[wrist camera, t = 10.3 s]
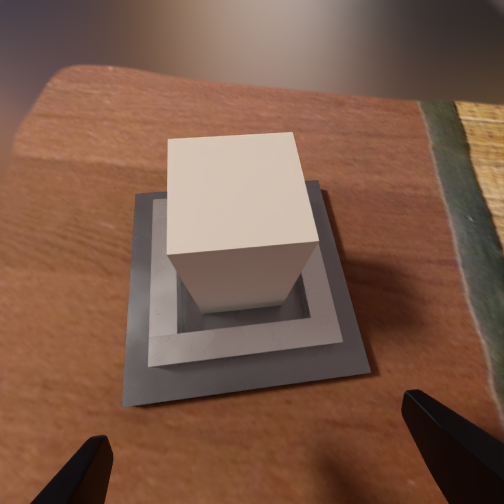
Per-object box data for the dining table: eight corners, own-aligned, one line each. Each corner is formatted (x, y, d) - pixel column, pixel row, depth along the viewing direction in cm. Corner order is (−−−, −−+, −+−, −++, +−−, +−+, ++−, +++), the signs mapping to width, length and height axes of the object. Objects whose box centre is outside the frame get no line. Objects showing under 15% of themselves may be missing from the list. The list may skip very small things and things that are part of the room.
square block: (282, 305, 17) (319, 240, 9) (202, 313, 17) (166, 254, 9) (270, 235, 19) (292, 132, 11) (199, 241, 19) (168, 139, 11)
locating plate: (364, 372, 17) (383, 372, 14) (129, 405, 16) (109, 410, 13) (314, 188, 22) (323, 166, 20) (140, 201, 21) (128, 180, 19)
